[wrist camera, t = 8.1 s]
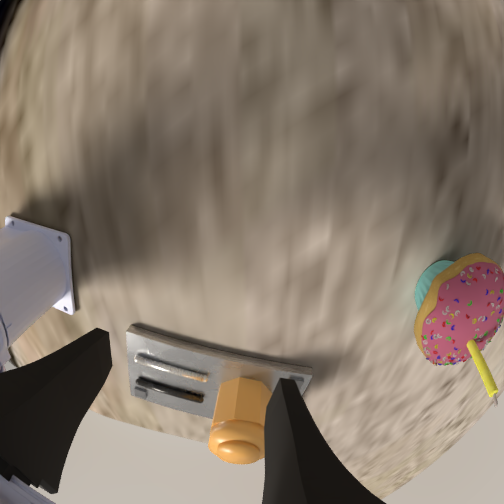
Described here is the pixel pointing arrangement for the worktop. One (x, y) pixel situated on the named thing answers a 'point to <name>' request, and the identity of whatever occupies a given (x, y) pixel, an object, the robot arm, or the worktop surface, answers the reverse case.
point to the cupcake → (460, 312)
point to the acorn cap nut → (239, 421)
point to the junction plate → (195, 371)
